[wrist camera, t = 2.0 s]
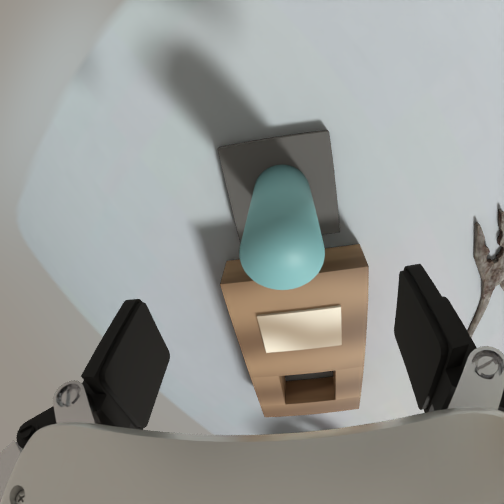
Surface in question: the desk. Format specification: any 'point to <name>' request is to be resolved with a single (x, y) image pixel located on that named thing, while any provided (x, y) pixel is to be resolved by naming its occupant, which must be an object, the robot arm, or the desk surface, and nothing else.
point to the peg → (282, 231)
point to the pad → (282, 153)
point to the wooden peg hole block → (303, 334)
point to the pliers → (487, 268)
